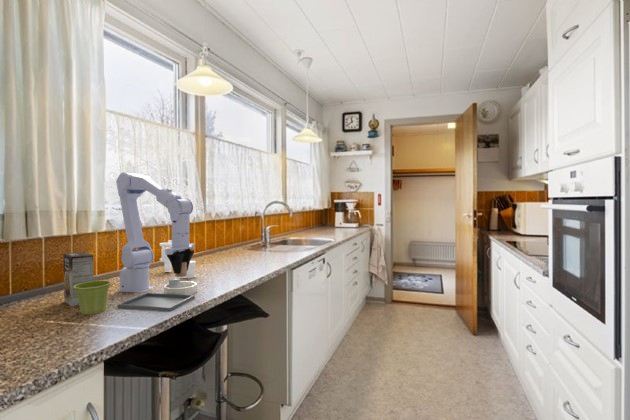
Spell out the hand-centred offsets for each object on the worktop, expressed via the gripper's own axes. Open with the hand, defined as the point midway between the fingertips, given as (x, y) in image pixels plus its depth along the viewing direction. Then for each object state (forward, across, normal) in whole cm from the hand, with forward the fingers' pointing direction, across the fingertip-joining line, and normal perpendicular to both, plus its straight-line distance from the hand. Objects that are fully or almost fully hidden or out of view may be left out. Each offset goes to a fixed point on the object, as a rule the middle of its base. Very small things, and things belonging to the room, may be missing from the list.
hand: (180, 272), depth 117 cm
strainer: (+9, +37, +30) cm, 49 cm away
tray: (+9, -9, +3) cm, 13 cm away
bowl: (+9, +4, +3) cm, 10 cm away
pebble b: (+1, 0, 0) cm, 1 cm away
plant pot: (+9, -20, +16) cm, 27 cm away
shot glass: (+9, +29, +15) cm, 34 cm away
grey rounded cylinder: (+8, +4, +5) cm, 11 cm away
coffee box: (+9, -12, +30) cm, 33 cm away
